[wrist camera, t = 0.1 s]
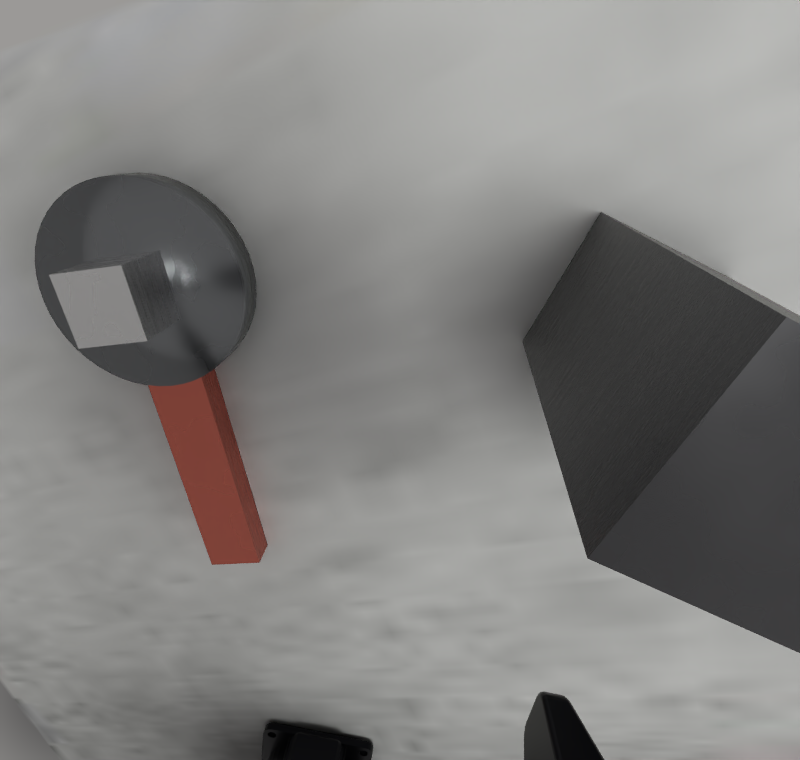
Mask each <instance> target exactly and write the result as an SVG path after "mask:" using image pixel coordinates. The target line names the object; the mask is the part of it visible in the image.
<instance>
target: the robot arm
mask: <svg viewBox="0 0 800 760" xmlns="http://www.w3.org/2000/svg"><path fill="white" fill-rule="evenodd" d="M372 752H373V745H372V744H371V743H369V742H367V741H363V740H358V739H353V738H348V737H343V736H338V735H333V734H328V733H323V732H318V731H313V730H308V729H303V728H298V727H293V726H288V725H283V724H278V723H268V724H267V725H266V727H265V730H264V733H263V747H262V760H371V758H372ZM524 760H604V758H603V757H602V755H601V753H600V752H599V750H598V748H597V747H596V745H595V743H594V742H593V740H592V738H591V737H590V735H589V733H588V732H587V730H586V728H585V726H584V725H583V723H582V721H581V720H580V718H579V716H578V715H577V713H576V711H575V710H574V708H573V706H572V705H571V703H570V701H569V700H568V699H567V698H566V697H565V696H562V695H558V694H553V693H548V692H540V693H539V694H538V696H537V697H536V700H535V702H534V705H533V707H532V710H531V712H530V715H529V717H528V720H527V722H526V726H525V732H524Z"/></svg>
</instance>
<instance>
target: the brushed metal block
mask: <svg viewBox="0 0 800 760" xmlns="http://www.w3.org/2000/svg"><path fill="white" fill-rule="evenodd" d="M523 344H524V348H525V351H526V354H527V358H528V361H529V364H530V368H531V371H532V375H533V378H534V381H535V385H536V388H537V391H538V395H539V398H540V401H541V405H542V408H543V411H544V415H545V418H546V421H547V425H548V428H549V431H550V435H551V438H552V441H553V445H554V448H555V451H556V455H557V458H558V461H559V465H560V468H561V471H562V475H563V478H564V481H565V485H566V488H567V491H568V495H569V498H570V502H571V505H572V508H573V512H574V515H575V518H576V522H577V525H578V528H579V532H580V535H581V538H582V542H583V545H584V548H585V552H586V555H587V558H588V559H590V560H592V561H595V562H597V563H599V564H601V565H604V566H606V567H608V568H610V569H613V570H615V571H617V572H619V573H622V574H624V575H626V576H628V577H631V578H633V579H635V580H637V581H639V582H642V583H644V584H646V585H648V586H651V587H653V588H655V589H657V590H660V591H662V592H664V593H666V594H669V595H671V596H673V597H675V598H678V599H680V600H682V601H684V602H687V603H689V604H691V605H693V606H696V607H698V608H700V609H702V610H705V611H707V612H709V613H711V614H713V615H716V616H718V617H720V618H722V619H725V620H727V621H729V622H731V623H734V624H736V625H738V626H740V627H743V628H745V629H747V630H749V631H752V632H754V633H756V634H758V635H761V636H763V637H765V638H767V639H770V640H772V641H774V642H776V643H779V644H781V645H783V646H785V647H788V648H790V649H792V650H794V651H796V652H799V653H800V316H799V315H797V314H796V313H794V312H792V311H790V310H788V309H786V308H784V307H783V306H781V305H779V304H777V303H775V302H773V301H771V300H770V299H768V298H766V297H764V296H762V295H760V294H759V293H757V292H755V291H753V290H751V289H749V288H747V287H746V286H744V285H742V284H740V283H738V282H736V281H734V280H733V279H731V278H729V277H727V276H725V275H723V274H721V273H719V272H717V271H715V270H713V269H711V268H709V267H707V266H705V265H703V264H701V263H699V262H698V261H696V260H694V259H692V258H690V257H688V256H686V255H684V254H682V253H680V252H678V251H676V250H674V249H672V248H670V247H668V246H666V245H664V244H662V243H660V242H658V241H657V240H655V239H653V238H651V237H649V236H647V235H645V234H643V233H641V232H639V231H637V230H635V229H633V228H631V227H629V226H627V225H625V224H623V223H621V222H619V221H618V220H616V219H614V218H612V217H610V216H608V215H606V214H604V213H602V212H601V213H600V215H599V217H598V218H597V220H596V221H595V223H594V225H593V226H592V228H591V230H590V231H589V233H588V235H587V236H586V238H585V240H584V241H583V243H582V245H581V246H580V248H579V250H578V251H577V253H576V254H575V256H574V258H573V259H572V261H571V263H570V264H569V266H568V268H567V269H566V271H565V273H564V274H563V276H562V278H561V279H560V281H559V283H558V284H557V286H556V287H555V289H554V291H553V292H552V294H551V296H550V297H549V299H548V301H547V302H546V304H545V306H544V307H543V309H542V311H541V312H540V314H539V315H538V317H537V319H536V320H535V322H534V324H533V325H532V327H531V329H530V330H529V332H528V334H527V335H526V337H525V339H524V340H523Z"/></svg>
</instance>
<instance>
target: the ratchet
mask: <svg viewBox="0 0 800 760" xmlns="http://www.w3.org/2000/svg"><path fill="white" fill-rule="evenodd" d="M35 267H36V276H37V280H38V284H39V289H40V291H41V294H42V297H43V300H44V302H45V305H46V307H47V309H48V311H49V313H50V315H51V316H52V318H53V320H54V321H55V323H56V325H57V326H58V328H59V329H60V330H61V332H62V333H63V334H64V336H65V337H66V338H67V339H68V340H69V341H70V342H71V344H72V345H73V346H74V347H75V348H76V349H77V350H78V351H80V352H81V353H82V354H83V355H84V356H85V357H86V358H88V359H89V360H90V361H92V362H93V363H95V364H96V365H97V366H99V367H101V368H102V369H104V370H106V371H107V372H109V373H111V374H114V375H116V376H118V377H120V378H122V379H126V380H129V381H132V382H135V383H139V384H144V385H148V387H149V389H150V392H151V395H152V398H153V401H154V403H155V406H156V409H157V412H158V415H159V417H160V420H161V423H162V426H163V429H164V432H165V434H166V437H167V440H168V443H169V446H170V448H171V451H172V454H173V457H174V460H175V462H176V465H177V468H178V471H179V474H180V476H181V479H182V482H183V485H184V488H185V490H186V493H187V496H188V499H189V502H190V504H191V507H192V510H193V513H194V516H195V518H196V521H197V524H198V527H199V530H200V532H201V535H202V538H203V541H204V544H205V546H206V549H207V552H208V555H209V558H210V560H211V563H212V565H214V564H237V563H259V562H260V560H261V558H262V556H263V554H264V552H265V549H266V547H267V542H266V539H265V535H264V532H263V529H262V525H261V522H260V519H259V515H258V512H257V509H256V505H255V502H254V499H253V495H252V492H251V489H250V485H249V482H248V479H247V476H246V472H245V469H244V466H243V462H242V459H241V456H240V452H239V449H238V446H237V442H236V439H235V436H234V432H233V429H232V426H231V422H230V419H229V416H228V412H227V409H226V406H225V402H224V399H223V396H222V392H221V389H220V386H219V382H218V379H217V376H216V372H215V368H216V367H217V366H218V365H219V364H220V363H221V362H222V361H223V360H224V359H225V358H226V357H227V356H228V355H229V354H230V353H232V352H233V351H234V350H235V349H236V348H237V347H238V345H239V344H240V343H241V341H242V340H243V339H244V337H245V335H246V333H247V332H248V330H249V327H250V325H251V322H252V319H253V316H254V311H255V307H256V280H255V274H254V269H253V265H252V262H251V259H250V256H249V253H248V251H247V249H246V247H245V244H244V242H243V240H242V239H241V237H240V235H239V234H238V232H237V230H236V229H235V227H234V226H233V225H232V223H231V222H230V221H229V219H228V218H227V217H226V216H225V215H224V214H223V213H222V211H221V210H220V209H219V208H218V207H217V206H216V205H214V204H213V203H212V202H211V201H210V200H208V199H207V198H206V197H205V196H203V195H202V194H200V193H199V192H197V191H196V190H194V189H193V188H191V187H189V186H187V185H185V184H183V183H181V182H179V181H176V180H173V179H170V178H167V177H164V176H159V175H155V174H146V173H131V174H120V175H112V176H104V177H98V178H94V179H90V180H86V181H84V182H82V183H79V184H77V185H75V186H73V187H72V188H70V189H69V190H67V191H66V192H64V193H63V194H62V195H61V196H60V197H59V198H58V199H57V200H56V201H55V202H54V203H53V204H52V206H51V207H50V208H49V210H48V211H47V213H46V215H45V217H44V219H43V221H42V223H41V226H40V229H39V232H38V235H37V241H36V246H35Z"/></svg>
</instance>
